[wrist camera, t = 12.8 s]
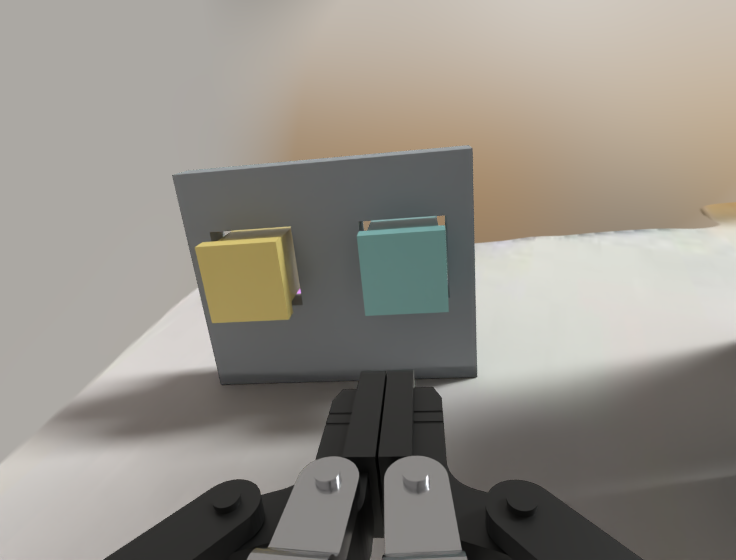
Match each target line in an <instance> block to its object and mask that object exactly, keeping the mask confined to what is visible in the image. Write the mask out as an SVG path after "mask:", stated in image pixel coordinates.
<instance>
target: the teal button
mask: <svg viewBox="0 0 736 560" xmlns="http://www.w3.org/2000/svg"><path fill="white" fill-rule="evenodd" d="M357 243H358V252H359V262H360V271H361V280H362V290H363V299H364V308H365V316H374V315H396V314H417V313H439V312H449V305H448V280H447V256H446V232H445V226H444V225H443V226H438V223H437V216H428V217H414V218H400V219H387V220H373V221H371V223H370V225H369V228H368V230H367V231H359V232H358V235H357Z"/></svg>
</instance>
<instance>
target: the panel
mask: <svg viewBox="0 0 736 560" xmlns="http://www.w3.org/2000/svg"><path fill="white" fill-rule="evenodd" d="M172 176H173V181H174V185H175V189H176V194H177V198H178V202H179V207H180V211H181V215H182V219H183V224H184V228H185V232H186V237H187V240H188V245H189V250H190V254H191V258H192V262H193V267H194V271H195V275H196V280H197V284H198V288H199V292H200V297H201V301H202V305H203V310H204V314H205V318H206V322H207V327H208V331H209V335H210V340H211V344H212V348H213V352H214V357H215V361H216V365H217V370H218V374H219V378H220V383H221V384H251V383H285V382H319V381H354V380H359V377H360V373H361V371H387V375H388V370H414V378H415V379H422V378H457V377H477V349H476V300H475V250H474V201H473V152H472V148H471V147H470V146H469V145H467V146H456V147H445V148H433V149H422V150H412V151H400V152H389V153H378V154H367V155H356V156H345V157H334V158H322V159H311V160H300V161H289V162H278V163H267V164H257V165H245V166H234V167H223V168H211V169H200V170H189V171H185V172H181V173H178V174H175V175H172ZM442 215H445V230H446V254H447V278H448V305H449V312H439V313H417V314H396V315H374V316H365V308H364V299H363V290H362V280H361V271H360V262H359V252H358V243H357V235H358V232H359V231H364V228H363V221H373V220H387V219H400V218H414V217H428V216H442ZM290 226H291V232H292V238H293V245H294V251H295V258H296V264H297V271H298V277H299V284H300V290H301V294H296V295H295V297H294V298H293V300H292V302H291V303H292V309H293V313H292V315H291V317H290V318H289V320H270V321H248V322H227V323H212V321H211V316H210V312H209V308H208V303H207V299H206V295H205V290H204V286H203V281H202V277H201V273H200V268H199V264H198V260H197V255H196V251H195V247H196V246H197V245H199V244H200V243H202V242H213V241H218V240H220V239H221V238H223V237H224V236H225V234H224V231H234V230H248V229H262V228H276V227H290Z"/></svg>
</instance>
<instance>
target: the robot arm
mask: <svg viewBox="0 0 736 560" xmlns="http://www.w3.org/2000/svg"><path fill="white" fill-rule="evenodd" d="M384 534H385V555H383V557H382V560H643V559H642V558H640V557H639V556H638V555H636V554H635V553H633V552H632V551H631V550H629V549H628V548H626V547H625V546H624V545H622V544H621V543H619V542H618V541H617V540H615V539H614V538H612V537H611V536H610V535H608V534H607V533H605V532H604V531H603V530H601V529H600V528H598V527H597V526H596V525H594V524H593V523H591V522H590V521H589V520H587V519H586V518H584V517H583V516H582V515H580V514H579V513H577V512H576V511H575V510H573V509H572V508H570V507H569V506H568V505H566V504H565V503H564V502H562V501H561V500H559V499H558V498H557V497H555V496H554V495H552V494H551V493H550V492H548V491H547V490H545V489H544V488H542V487H541V486H539V485H536V484H534V483H531V482H528V481H523V480H508V481H503V482H500V483H498V484H496V485H495V486H493V487H492V488H491V489H490V490H489V492H488V493H487V492H484V491H480V490H476V489H473V488H470V487H468V486H466V485H464V484H462V483H460V482H459V481H458V480H457V479H455V478H454V477H453V475H452V474H451V473H450V471H449V469H448V467H447V460H446V448H445V435H444V423H443V409H442V398H441V396H440V395H439V394H438V393H437V391H436V390H435V389H434V387H415V378H414V370H388V375H387V371H361V373H360V377H359V382H358V387H357V389H343V390H342V391H341V392H340V393H339V394H338V395H337V396H336V398H335V399H334V400H333V401H332V405H331V408H330V411H329V415H328V418H327V422H326V426H325V429H324V432H323V436H322V439H321V442H320V446H319V449H318V453H317V456H316V460H315V461H313V462H311V463H310V464H308V465H307V466H306V467H305V468H304V469H303V470H302V471H301V472H300V474H299V476H298V478H297V481H296V483H295V485H293V486H291V487H288V488H285V489H282V490H279V491H275V492H271V493H267V494H263V495H261V494H260V490H259V488H258V487H257V485H256V484H254V483H253V482H251V481H248V480H241V479H237V480H230V481H226V482H223V483H221V484H218V485H216V486H215V487H213V488H211V489H210V490H208V491H207V492H205V493H204V494H202V495H201V496H199V497H198V498H196V499H195V500H193V501H192V502H190V503H189V504H187V505H186V506H184V507H182V508H181V509H179V510H178V511H176V512H175V513H173V514H172V515H170V516H169V517H167V518H166V519H164V520H163V521H161V522H160V523H158V524H157V525H155V526H154V527H152V528H151V529H149V530H148V531H146V532H145V533H143V534H141V535H140V536H138V537H137V538H135V539H134V540H132V541H131V542H129V543H128V544H126V545H125V546H123V547H122V548H120V549H119V550H117V551H116V552H114V553H113V554H111V555H110V556H108V557H107V558H105V559H104V560H370V557H371V551H372V542H373V538H384Z"/></svg>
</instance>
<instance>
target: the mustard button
mask: <svg viewBox="0 0 736 560" xmlns="http://www.w3.org/2000/svg"><path fill="white" fill-rule="evenodd" d="M195 251H196V255H197V260H198V264H199V268H200V273H201V277H202V281H203V286H204V290H205V295H206V299H207V303H208V308H209V312H210V316H211V321H212V323H227V322H248V321H270V320H289V318H290V317H291V315H292V313H293V309H292V303H291V302H292V300H293V298H294V297H295V295H296V294H297V292H298V291H299V289H300V284H299V277H298V271H297V264H296V258H295V251H294V245H293V238H292V232H291V226H290V227H276V228H262V229H248V230H234V231H231V232H230V233H228V234H227V235H225V236H224V237H223V238H221V239H220V240H218V241H213V242H202V243H200V244H199V245H197V246H196V247H195Z"/></svg>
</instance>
